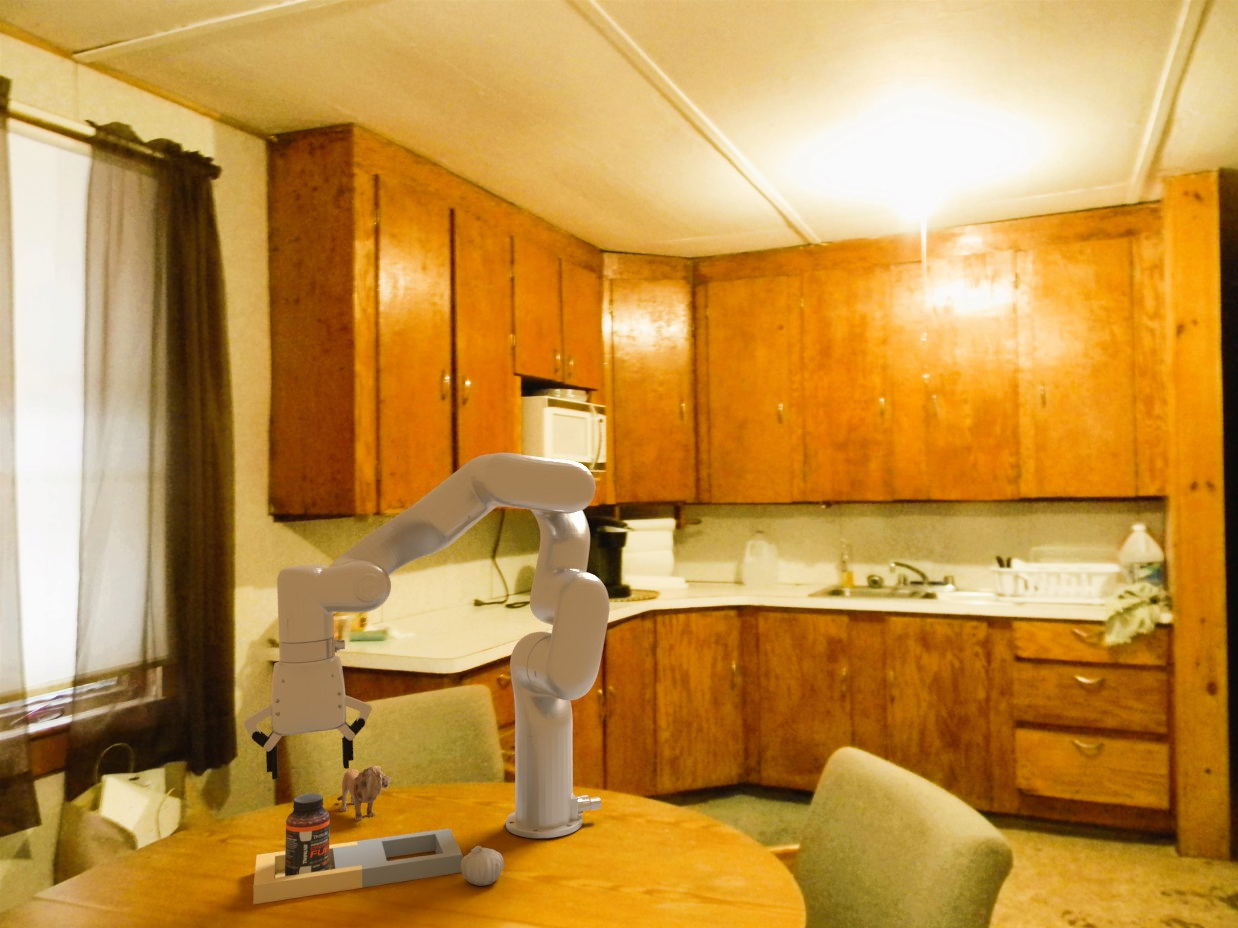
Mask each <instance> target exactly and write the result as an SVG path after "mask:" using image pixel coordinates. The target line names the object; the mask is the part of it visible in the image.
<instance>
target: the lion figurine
mask: <svg viewBox="0 0 1238 928" xmlns="http://www.w3.org/2000/svg"><path fill="white" fill-rule="evenodd" d="M391 781H392V777H390V776H389V775H387V774H385V772H383V771H382V767H381V765H372V766H369V767H368V768H366V769H364V770H363V771H359V770H358V769H354V768H349V769H348V770H347V771H346V772H345V773H344V775H343V778H342V782H341V783H342V784H341V788H342V795H340V796H339V797H337V799H336V800H337V801H338V802H340V801H341V807H340V812H345V811H347V810H348V807H347V801H348V799H347V797H348V794H349V795H350V803H351V804H354V810H355V811H354V813H355V814H354V815H355V817H354V821H355V822H361V821H362V820H363V814H362V811H361V809H362V804H367V807H366V815H367V817H369V818H372V817H375V815H376V812H374V811H373V804H374V801H376V799H377V797H378V796H380V795H381V794H382V792H383V789H385V790H387V789H388V787H389V784H391V783H390V782H391Z"/></svg>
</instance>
